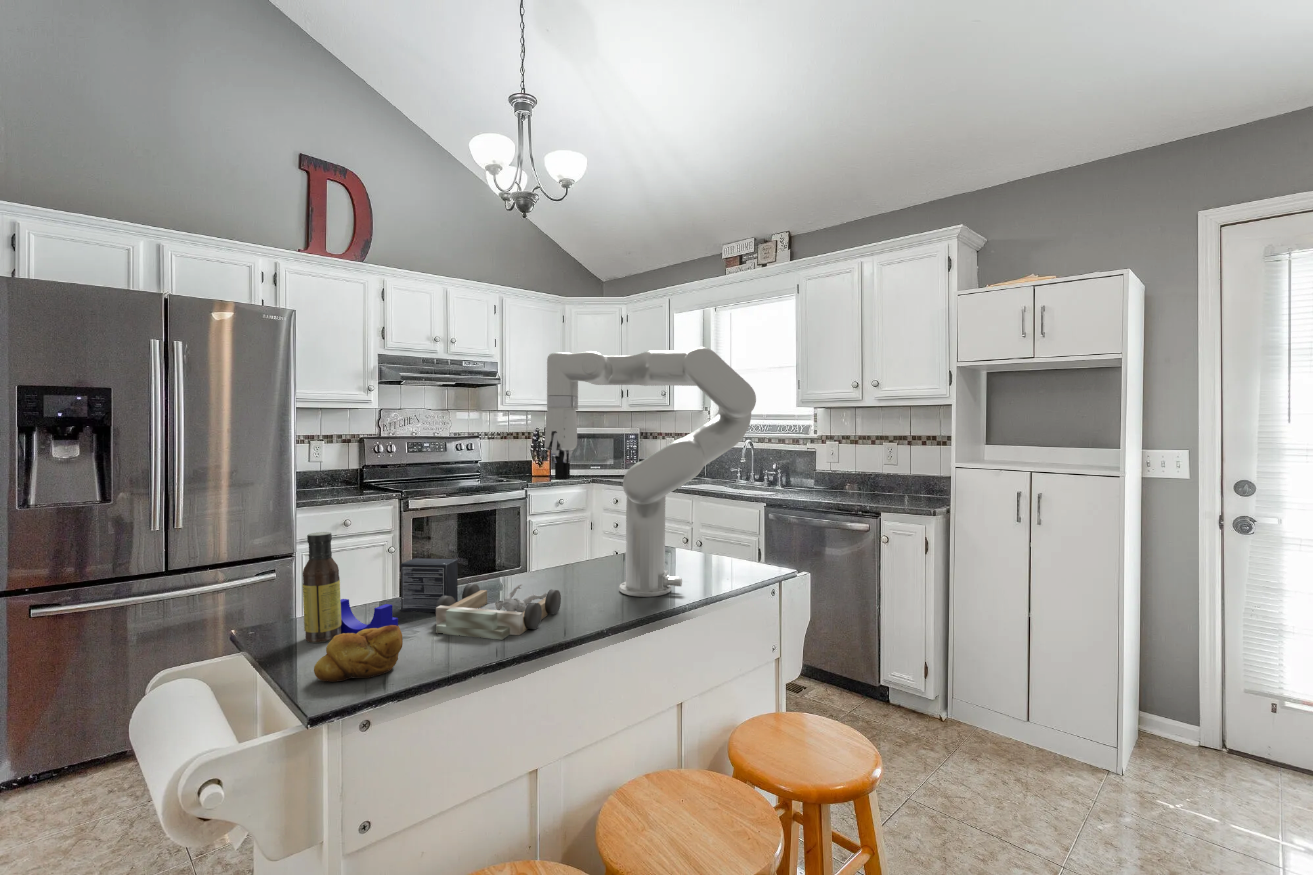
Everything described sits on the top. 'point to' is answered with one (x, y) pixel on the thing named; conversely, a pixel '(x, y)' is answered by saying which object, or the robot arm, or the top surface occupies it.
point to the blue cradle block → (354, 626)
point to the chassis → (489, 615)
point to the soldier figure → (517, 601)
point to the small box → (427, 583)
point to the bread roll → (360, 654)
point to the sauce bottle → (321, 591)
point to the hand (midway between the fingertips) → (562, 478)
